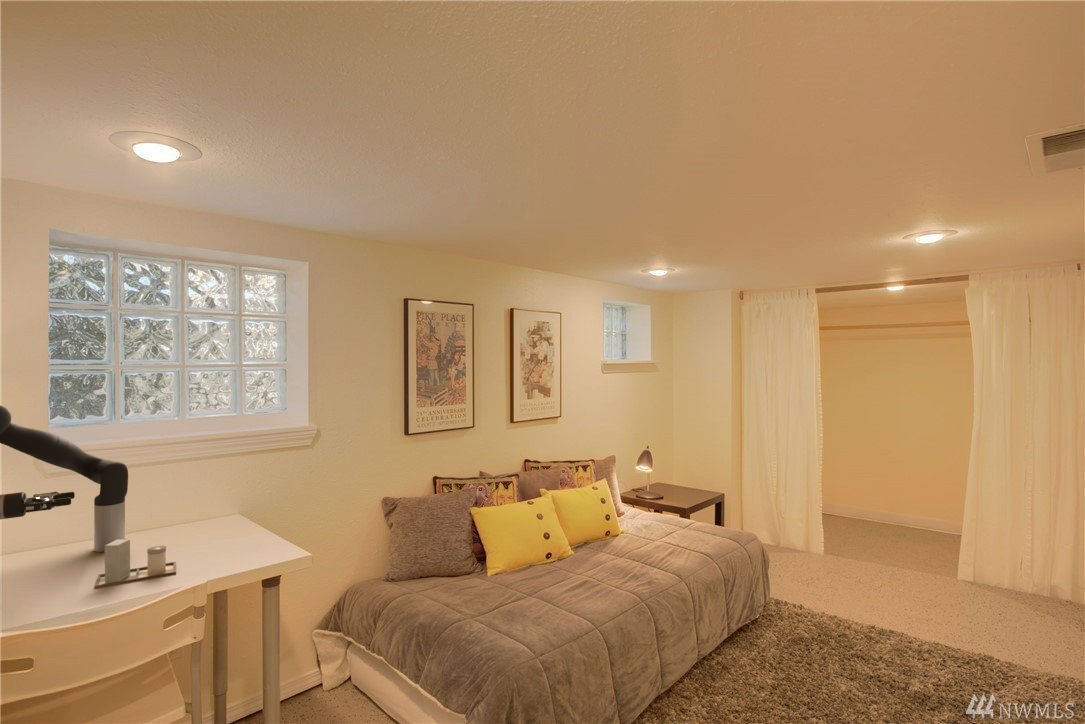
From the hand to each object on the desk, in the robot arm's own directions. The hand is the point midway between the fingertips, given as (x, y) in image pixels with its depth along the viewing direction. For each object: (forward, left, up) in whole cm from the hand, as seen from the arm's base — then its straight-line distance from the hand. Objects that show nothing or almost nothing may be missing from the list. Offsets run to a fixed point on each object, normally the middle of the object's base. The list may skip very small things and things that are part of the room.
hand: (72, 497), depth 180 cm
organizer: (+9, +17, -27) cm, 33 cm away
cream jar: (+9, +23, -26) cm, 36 cm away
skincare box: (+9, +12, -26) cm, 30 cm away
